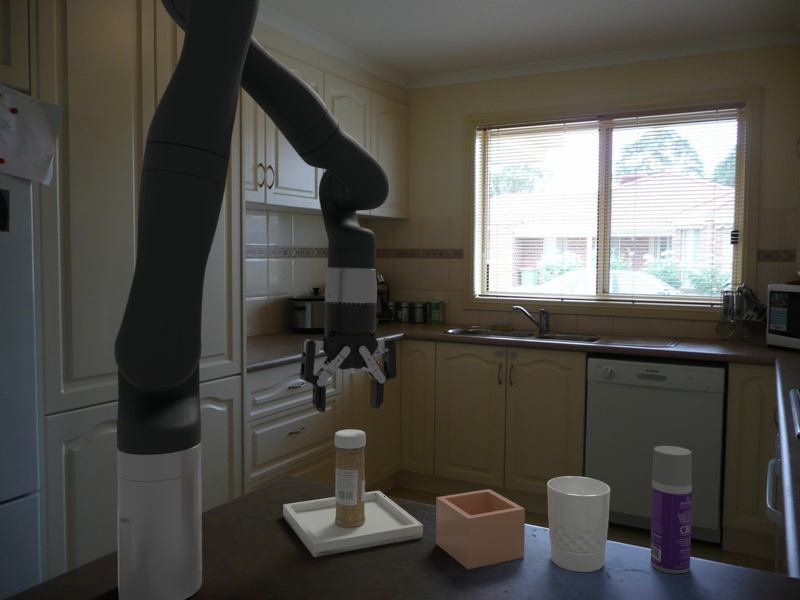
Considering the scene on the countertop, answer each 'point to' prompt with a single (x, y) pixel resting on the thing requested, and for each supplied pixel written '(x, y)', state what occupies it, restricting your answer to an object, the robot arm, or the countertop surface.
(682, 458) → the container
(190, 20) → the robot arm
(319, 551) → the tray
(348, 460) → the sprinkles bottle
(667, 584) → the countertop surface
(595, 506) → the white cup
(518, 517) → the pot
